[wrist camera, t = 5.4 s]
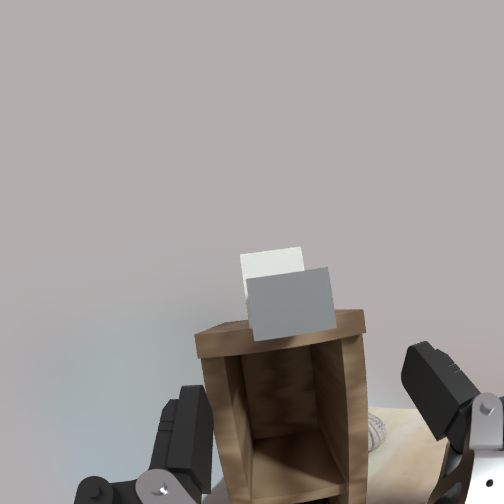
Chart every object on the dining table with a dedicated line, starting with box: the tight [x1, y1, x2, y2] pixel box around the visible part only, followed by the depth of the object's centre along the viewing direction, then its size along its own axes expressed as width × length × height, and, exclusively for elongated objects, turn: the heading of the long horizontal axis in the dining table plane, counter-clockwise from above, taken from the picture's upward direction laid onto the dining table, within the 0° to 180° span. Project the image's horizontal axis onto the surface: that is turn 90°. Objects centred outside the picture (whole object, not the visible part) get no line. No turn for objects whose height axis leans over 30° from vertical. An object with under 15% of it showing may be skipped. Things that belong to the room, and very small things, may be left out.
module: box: [240, 247, 337, 341], centre depth 23 cm, size 5×21×6 cm, turn 179°
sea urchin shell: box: [368, 413, 386, 451], centre depth 45 cm, size 13×14×8 cm
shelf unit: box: [195, 309, 368, 504], centre depth 28 cm, size 14×21×32 cm
